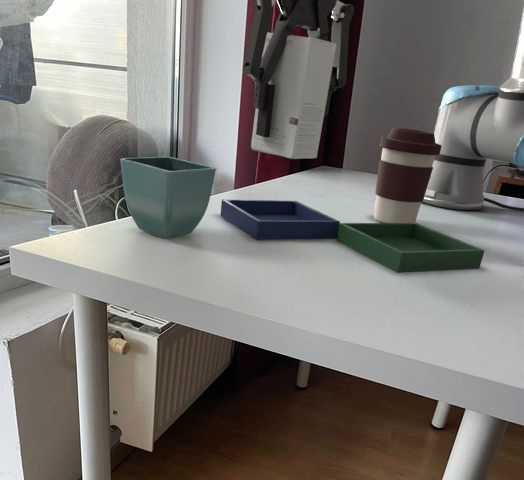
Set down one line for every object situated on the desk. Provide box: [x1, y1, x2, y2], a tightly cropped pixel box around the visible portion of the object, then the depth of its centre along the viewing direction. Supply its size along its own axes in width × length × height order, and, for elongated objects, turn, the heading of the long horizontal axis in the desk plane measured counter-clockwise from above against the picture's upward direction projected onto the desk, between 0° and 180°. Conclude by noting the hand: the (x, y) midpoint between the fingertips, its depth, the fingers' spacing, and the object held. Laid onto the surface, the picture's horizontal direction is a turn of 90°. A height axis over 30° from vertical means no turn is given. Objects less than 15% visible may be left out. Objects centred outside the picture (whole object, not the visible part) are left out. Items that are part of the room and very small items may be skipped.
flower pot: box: [119, 156, 217, 239], centre depth 72 cm, size 9×9×9 cm
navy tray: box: [220, 198, 341, 241], centre depth 83 cm, size 13×13×3 cm
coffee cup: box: [373, 127, 442, 223], centre depth 94 cm, size 10×10×15 cm
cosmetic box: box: [250, 32, 336, 160], centre depth 76 cm, size 8×6×15 cm
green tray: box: [335, 222, 485, 274], centre depth 77 cm, size 14×14×3 cm
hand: (288, 137), depth 78 cm, fingers closed on cosmetic box, 7 cm apart
